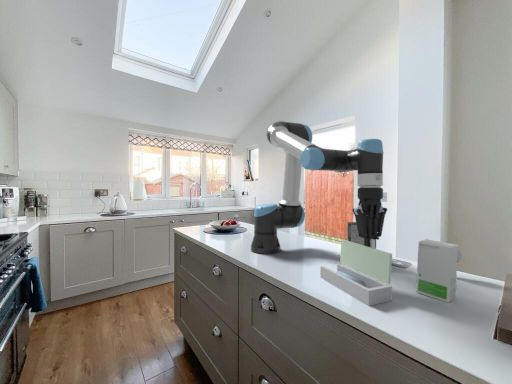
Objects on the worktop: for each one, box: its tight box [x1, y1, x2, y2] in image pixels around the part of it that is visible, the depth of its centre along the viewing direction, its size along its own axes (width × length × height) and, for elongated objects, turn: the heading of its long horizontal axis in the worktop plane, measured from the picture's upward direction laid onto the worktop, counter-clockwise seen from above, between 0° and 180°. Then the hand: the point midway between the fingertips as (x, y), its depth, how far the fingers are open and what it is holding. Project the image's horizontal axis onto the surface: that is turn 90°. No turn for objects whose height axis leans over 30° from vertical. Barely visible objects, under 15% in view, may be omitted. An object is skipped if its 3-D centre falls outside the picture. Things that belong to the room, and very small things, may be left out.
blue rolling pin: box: [336, 271, 366, 287], centre depth 76 cm, size 10×3×3 cm, turn 20°
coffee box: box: [346, 221, 364, 245], centre depth 104 cm, size 9×6×16 cm
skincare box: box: [415, 238, 459, 304], centre depth 69 cm, size 8×7×16 cm
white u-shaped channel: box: [319, 263, 393, 306], centre depth 74 cm, size 21×8×4 cm, turn 20°
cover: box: [339, 239, 393, 285], centre depth 76 cm, size 20×9×1 cm
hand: (370, 258), depth 77 cm, fingers closed
